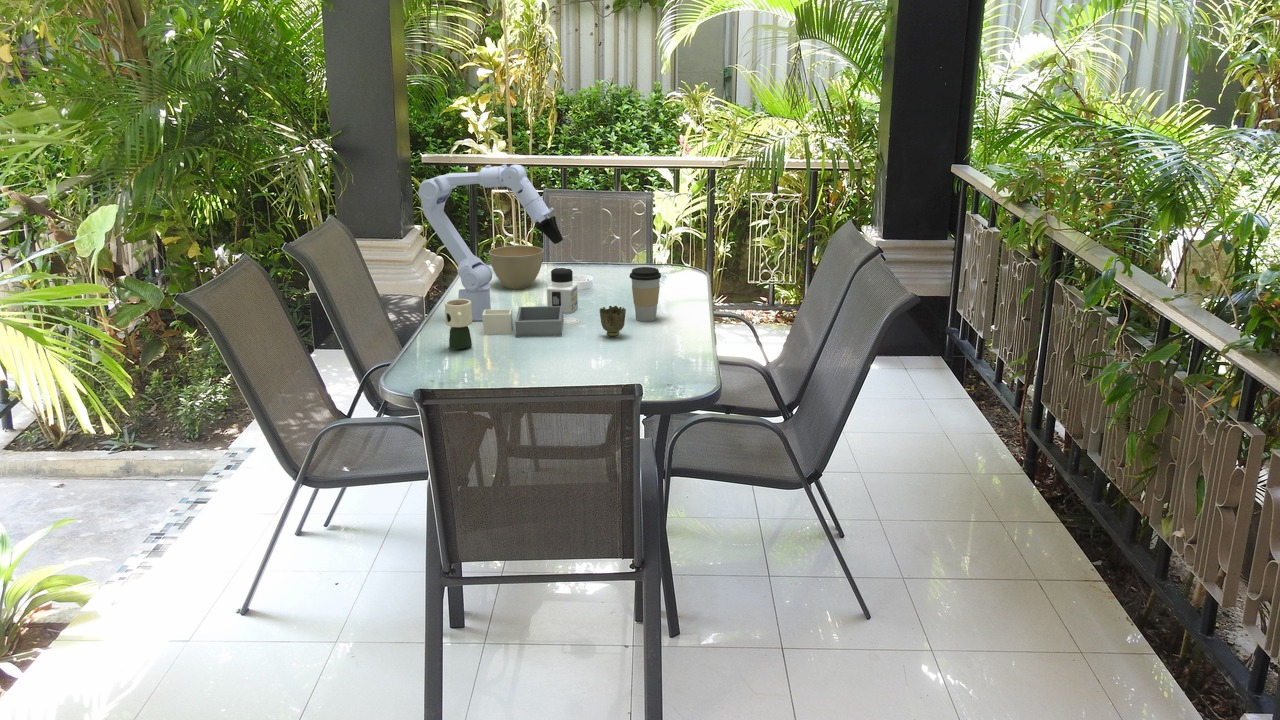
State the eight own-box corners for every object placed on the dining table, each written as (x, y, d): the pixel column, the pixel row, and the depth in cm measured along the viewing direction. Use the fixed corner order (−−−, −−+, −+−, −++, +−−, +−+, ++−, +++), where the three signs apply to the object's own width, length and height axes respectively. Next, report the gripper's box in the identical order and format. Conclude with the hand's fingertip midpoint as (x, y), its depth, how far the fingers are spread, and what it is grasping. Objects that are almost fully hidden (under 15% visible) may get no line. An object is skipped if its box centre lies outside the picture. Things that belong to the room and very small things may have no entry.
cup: (606, 341, 298) (606, 313, 295) (595, 334, 304) (595, 307, 302) (630, 337, 301) (630, 310, 299) (619, 331, 307) (618, 304, 305)
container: (571, 313, 325) (570, 272, 321) (547, 312, 327) (545, 271, 323) (578, 307, 333) (577, 266, 328) (554, 306, 334) (552, 265, 330)
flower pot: (555, 283, 361) (554, 248, 357) (522, 295, 347) (520, 258, 343) (513, 277, 370) (512, 242, 367) (479, 288, 356) (477, 252, 352)
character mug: (446, 343, 298) (443, 297, 294) (472, 341, 299) (469, 296, 295) (448, 354, 288) (445, 308, 284) (475, 352, 289) (472, 306, 285)
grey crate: (515, 337, 303) (515, 321, 301) (519, 321, 318) (519, 306, 316) (561, 336, 303) (561, 320, 302) (563, 320, 318) (563, 306, 317)
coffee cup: (666, 316, 321) (666, 268, 317) (653, 324, 313) (653, 274, 308) (637, 313, 325) (637, 265, 320) (624, 321, 317) (623, 272, 312)
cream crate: (483, 334, 305) (482, 314, 304) (485, 329, 311) (484, 309, 309) (511, 334, 306) (510, 314, 304) (512, 329, 311) (511, 309, 309)
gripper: (541, 193, 299) (568, 234, 300) (546, 195, 313) (572, 233, 314) (520, 208, 299) (548, 248, 301) (526, 208, 314) (552, 247, 315)
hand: (559, 242), depth 308 cm, fingers open, 7 cm apart
